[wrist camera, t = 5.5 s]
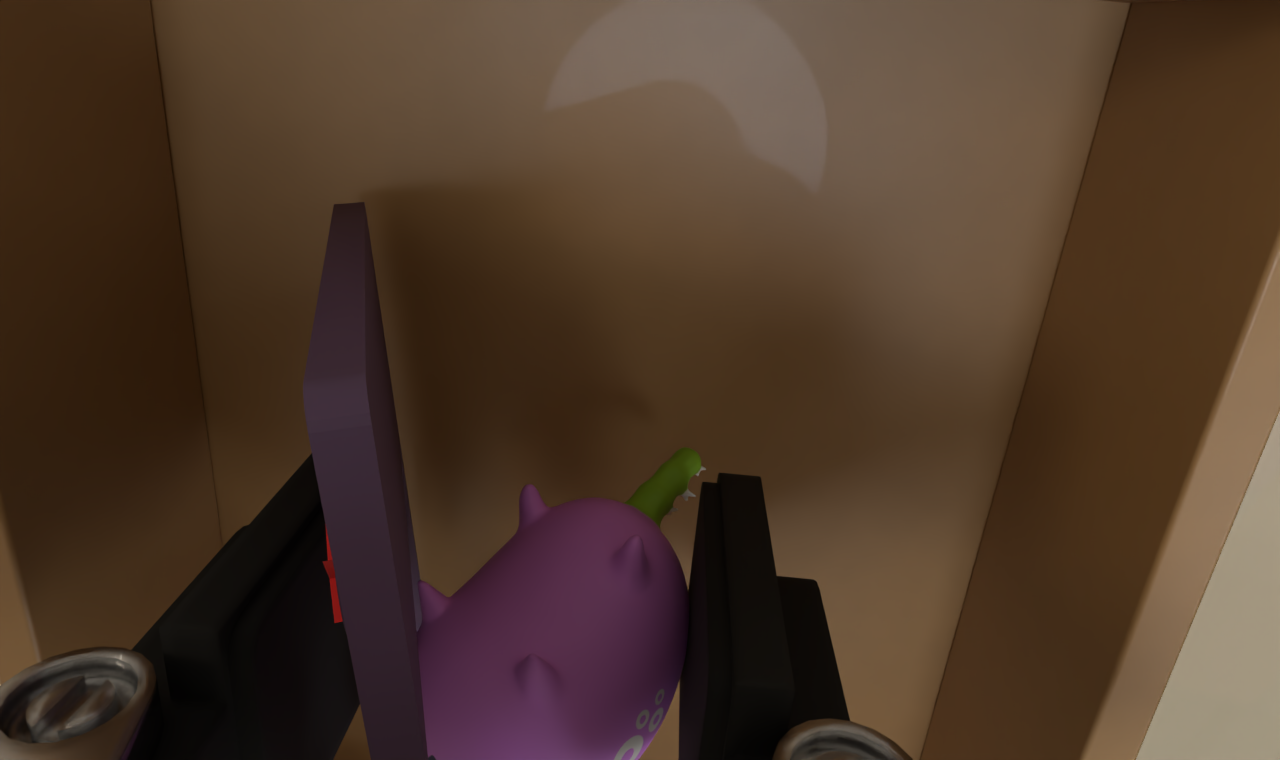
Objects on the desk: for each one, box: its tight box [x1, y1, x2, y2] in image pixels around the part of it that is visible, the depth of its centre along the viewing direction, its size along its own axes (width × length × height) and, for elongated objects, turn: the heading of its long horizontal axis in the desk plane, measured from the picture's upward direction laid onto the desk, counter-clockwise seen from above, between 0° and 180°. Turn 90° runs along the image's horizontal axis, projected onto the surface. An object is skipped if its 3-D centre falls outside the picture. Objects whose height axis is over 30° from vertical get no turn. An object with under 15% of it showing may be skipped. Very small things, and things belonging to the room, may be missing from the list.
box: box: [0, 0, 1280, 760], centre depth 11 cm, size 13×15×4 cm
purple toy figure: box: [303, 202, 706, 760], centre depth 10 cm, size 7×5×9 cm
